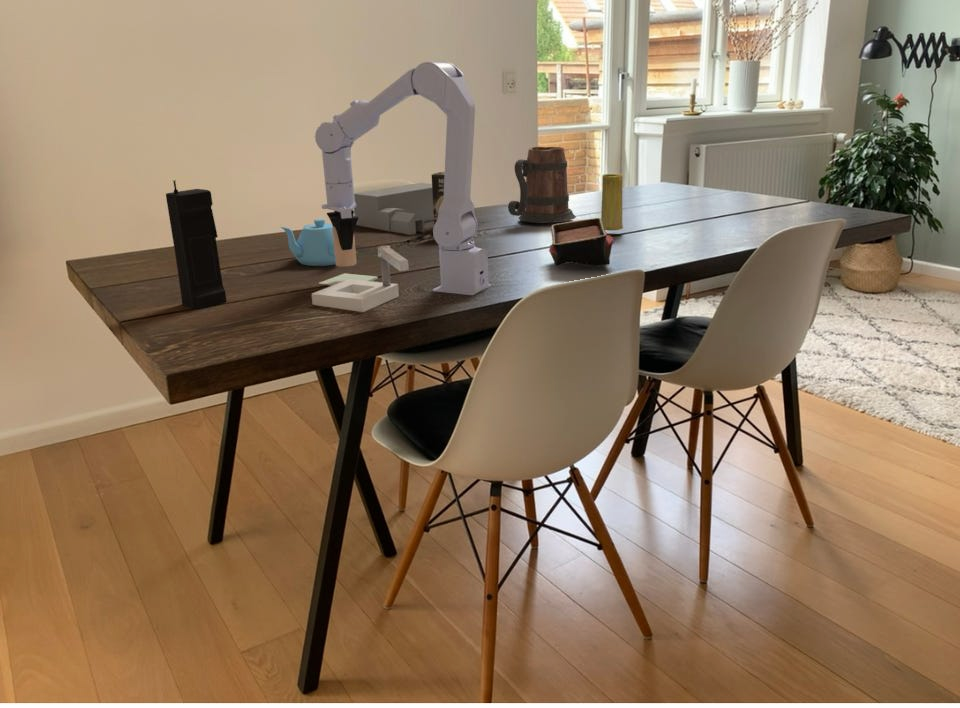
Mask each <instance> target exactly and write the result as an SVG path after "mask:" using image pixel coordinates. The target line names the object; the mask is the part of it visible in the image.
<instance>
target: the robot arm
mask: <svg viewBox="0 0 960 708" xmlns="http://www.w3.org/2000/svg"><path fill="white" fill-rule="evenodd" d="M465 81H466V80H465V74H464V73H463V72H462V71H461V70H460V69H459V68H458V67H457V66H455V64H454V63H452V62H450V61H440V62H439V61H438V62H432V61H423V62H421V63H420V64H418V65H417V66H416V67H413V68H411V69H409V70H408V71H406V72H405V73H404V74H402V75H401V76H400V77H399V78H398V79H396V80H395V81H393V83H391V84H390V85H389V86H387V87H386V88H385V89H383V90H382V91H381V92H380V93H378V94H377V95H376V96H375V97H374V98H372V99H371V100H370V101H369V100H365V99H359V100H358V99H357V100H352V101H351V102H350V104H349V105H350V107H349V108H347V109H346V110H344V111H343V112H341V113H340V114H339V113H337V114H334V115H333V117H332V119H333V120H332V122H330V121H323V122H321V124H320V125H319V126H318V127H317V129H316V130H315V136H314V138H315V143H316V145H317V147H318V148H319V149H320V150H321V155H322V156H321V157H322V165H323V174H324V175H323V176H324V185H325V186H324V187H325V195H326V196H325V197H326V204H325V203H324V204H323V203H322V204H321V209H322V210H330V212H326V215H327V216H328V219H329V220H330V224H332V225H333V227H335V229H336V231H337V235H338V239H339V243H340V246H341V249H342V250H351V249H352V246H353V237H354V238H355V230H356V226H357V225H356V223H357V221H358V216H353V215H355V214H354V208H355V207H356V203H355V198H354V193H355V187H354V178H353V166H352V156H351V155H352V152H351V150H352V146H353V145H354V142H356V141H357V140H358V139H359V138H361V137H362V136H364V135H365V134H367V133H369V132H370V131H371V130H373V129H374V128H376V127H377V126H378V125H379V122H380V117H381V115H383V114H385V113H386V112H388V111H389V110H391V109H392V108H394V107H395V106H397V105H399V104H400V103H402V102H404V101H405V100H406V99H408V98H409V97H412V96H421V97H422V98H425V99H426V100H429V102H432V103H433V104H435V105H436V106H437V107H438V108H439V109H440V110H441V111H442V112H443V114H445V115H446V133H445V134H446V135H445V158H444V172H445V176H444V198H443V201H442V203H441V206H440V208H439V211H438V219H437V221H436V223H435V225H434V224H433V228H432V233H433V239H434V241H435V242H436V243H437V245H438V257H439V274H440V275H439V276H440V285H439V286H437V287H435V288H433V289H432V292H437V293H448V294H458V295H468V296H474V295H476V294H478V293H479V292H482V291H484V290H486V289H488V288H490V287H491V286H492V285H491V283H490V277H489V276H490V273H489V272H490V271H489V257H488V256H489V255H488V253H487V251H486V250H485V249H484V248H480V247H477V246H475V240H474V237H475V235H476V234H477V231H478V227H479V225H478V224H479V223H478V220H477V217H476V214H475V204H474V203H473V201H472V200H471V189H472V171H473V156H474V155H473V154H474V153H473V152H474V136H475V134H474V133H475V116H476V104H475V102H474V99H473V97H472V95H471V93H470V90H469V88H468V86H467V83H466V82H465Z"/></svg>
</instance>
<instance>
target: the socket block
mask: <svg viewBox="0 0 960 708" xmlns="http://www.w3.org/2000/svg"><path fill="white" fill-rule="evenodd" d="M380 268H381V282H379V281H363V280H353V279H348V280H346V281H343V282H341V283H338V284H335V285H333V286H330V285H329V286H328V287H325V288H322V289H320V290H317V291H315V292H312V293H311V300H312V302H311V303H312V305H313V306H318V307H325V308H326V307H327V308H334V309H340V310H347V311H353V312H359V313H364V312H367V311H369V310H373V309H374V308H377V307H378V306H381V305H383V304H385V303H387V302H389V301H392V300H393V299H396V298H398V297H400V293H399V284H398V283H391V271H390V268H391V267H390V263H389V262H387V261H386V260H384V259H383V258H382V257H380Z"/></svg>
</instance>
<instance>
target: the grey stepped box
mask: <svg viewBox="0 0 960 708" xmlns="http://www.w3.org/2000/svg"><path fill="white" fill-rule="evenodd" d="M354 198H355V203H356V207H355V208H354V209H353V211H354V214H353V215H355V216H358V221H357V223H356V226H359V227H366V228H370V229H376V230H380V231H385V232H392V233H397V234H404V235H408V236H412V235H416V234H417V232H419V233H425V223H426V222H430V221H434V215H433V194H432V183H425V182H415V183H411V184H410V183H409V184H405V185H398V186H392V187H386V188H380V189H374V190H372V189H371V190H367V191H360V192H354ZM425 238H426V236H425V235H421V236H419V237H414V238H411V239H407V240H406V242H408V243H409V242H415V241H420V240H424V239H425ZM425 240H426V239H425Z"/></svg>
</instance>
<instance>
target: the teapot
mask: <svg viewBox="0 0 960 708" xmlns="http://www.w3.org/2000/svg"><path fill="white" fill-rule="evenodd" d="M353 216H355V214H353ZM313 222H314V223H313V224H306V225H304V226H303V228H302V230H301V232H300V233H299V236H298V237H297V239H296V238H295V235H294V232H293V230H292V229H291V228H290V227H289V228H288V227H286V226H285V227H284V226H280V228H281V229H282V230H283V231H284V232H285V233H286V236H287V242H288V247H289V251H290V252H291V253H292V255H294V257H295V259H296V260H297V262H298V263H300V264H301V265H304V266H308V267H309V266H310V267H325V266H334V265H335V266H336V261H335V251H334V241H333V231H332V227H333V225H332V223H325V222H326V219H325V218H318V219H314V220H313Z"/></svg>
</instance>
